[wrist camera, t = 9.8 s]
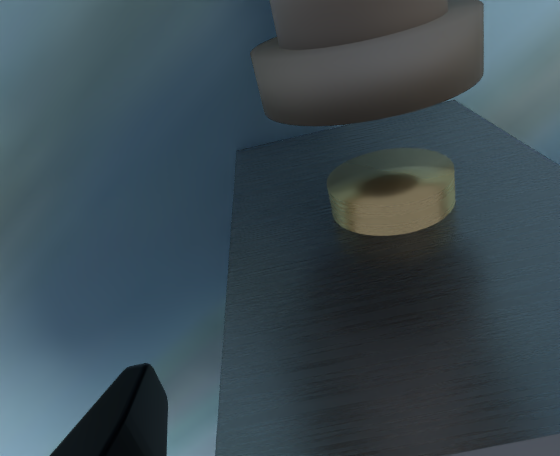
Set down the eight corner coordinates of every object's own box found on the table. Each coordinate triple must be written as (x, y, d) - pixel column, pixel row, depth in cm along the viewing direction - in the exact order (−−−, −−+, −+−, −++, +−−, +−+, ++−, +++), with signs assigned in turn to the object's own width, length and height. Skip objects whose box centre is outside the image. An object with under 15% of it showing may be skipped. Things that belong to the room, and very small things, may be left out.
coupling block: (460, 292, 13) (709, 667, 6) (286, 328, 13) (329, 728, 6) (452, 77, 10) (919, 318, 3) (230, 130, 10) (191, 461, 3)
